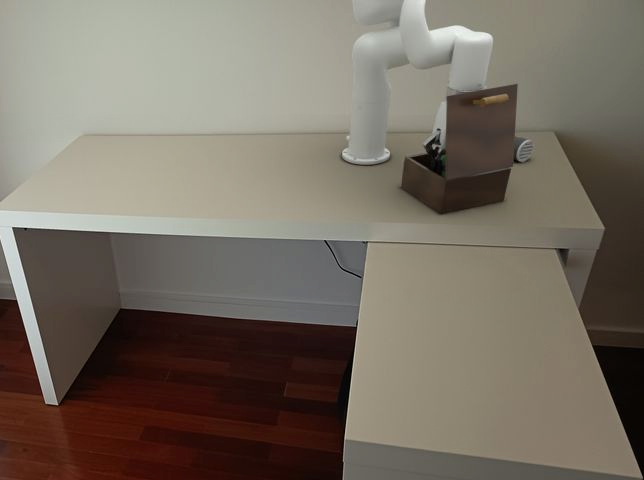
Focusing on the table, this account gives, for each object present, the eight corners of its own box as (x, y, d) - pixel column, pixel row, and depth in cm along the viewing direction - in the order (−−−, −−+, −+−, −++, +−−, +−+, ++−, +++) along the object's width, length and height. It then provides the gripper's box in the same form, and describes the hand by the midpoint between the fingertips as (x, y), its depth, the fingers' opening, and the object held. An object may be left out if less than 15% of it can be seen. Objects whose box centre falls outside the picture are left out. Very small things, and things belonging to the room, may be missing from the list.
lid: (446, 95, 135) (461, 95, 131) (515, 83, 138) (532, 82, 133) (445, 179, 142) (459, 182, 137) (510, 166, 145) (526, 168, 140)
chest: (400, 187, 160) (404, 156, 155) (459, 175, 162) (465, 145, 158) (440, 214, 147) (445, 181, 142) (503, 200, 149) (511, 168, 145)
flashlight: (470, 147, 176) (473, 127, 173) (485, 142, 178) (489, 123, 175) (515, 163, 165) (520, 143, 162) (531, 159, 167) (536, 138, 163)
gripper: (487, 84, 146) (472, 159, 157) (419, 96, 143) (408, 172, 154) (510, 92, 141) (492, 170, 151) (439, 105, 138) (426, 183, 148)
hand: (450, 171), depth 153 cm, fingers closed on alien toy, 7 cm apart
